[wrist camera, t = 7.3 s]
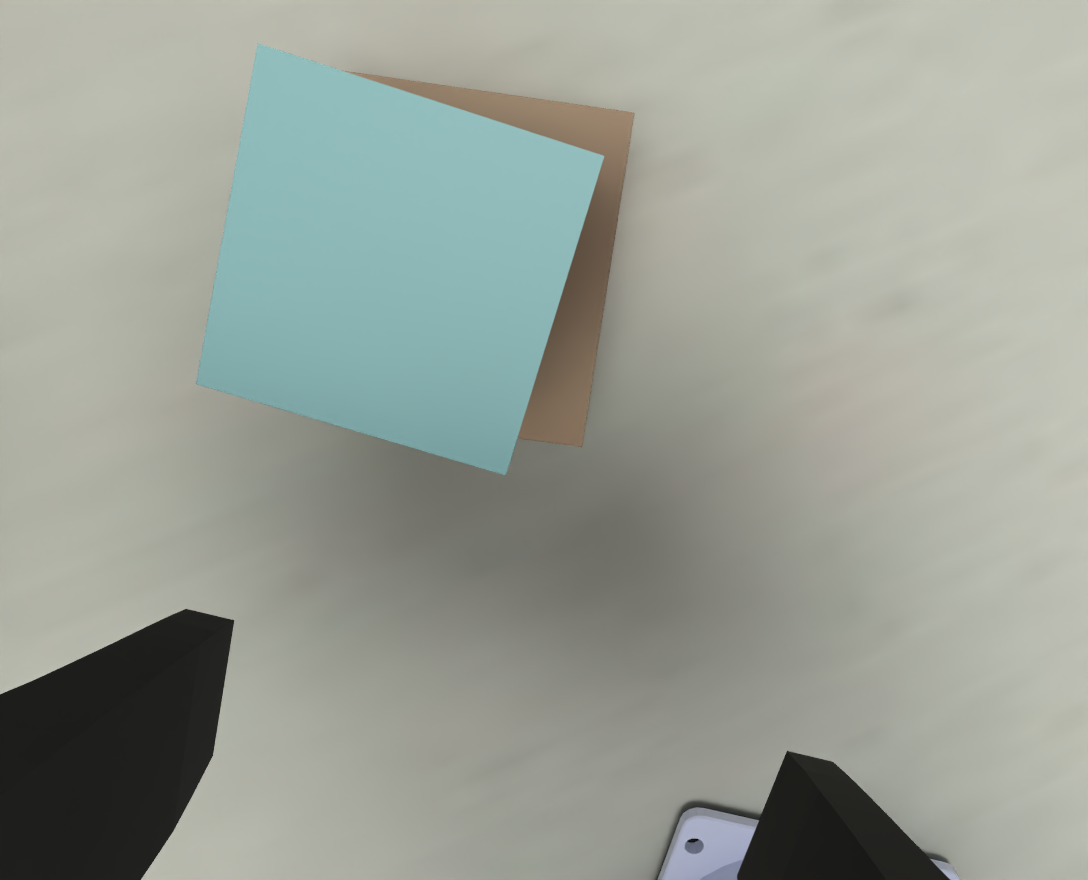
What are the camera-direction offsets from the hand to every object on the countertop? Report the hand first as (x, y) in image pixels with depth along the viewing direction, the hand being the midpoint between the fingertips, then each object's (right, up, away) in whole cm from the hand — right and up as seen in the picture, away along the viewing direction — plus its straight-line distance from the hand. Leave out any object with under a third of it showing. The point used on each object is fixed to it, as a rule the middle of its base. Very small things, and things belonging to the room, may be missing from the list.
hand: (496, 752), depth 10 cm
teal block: (-1, +7, +4) cm, 9 cm away
